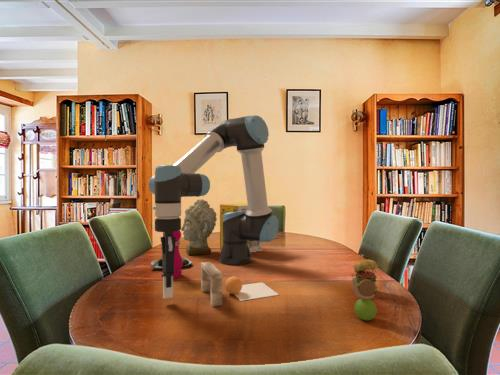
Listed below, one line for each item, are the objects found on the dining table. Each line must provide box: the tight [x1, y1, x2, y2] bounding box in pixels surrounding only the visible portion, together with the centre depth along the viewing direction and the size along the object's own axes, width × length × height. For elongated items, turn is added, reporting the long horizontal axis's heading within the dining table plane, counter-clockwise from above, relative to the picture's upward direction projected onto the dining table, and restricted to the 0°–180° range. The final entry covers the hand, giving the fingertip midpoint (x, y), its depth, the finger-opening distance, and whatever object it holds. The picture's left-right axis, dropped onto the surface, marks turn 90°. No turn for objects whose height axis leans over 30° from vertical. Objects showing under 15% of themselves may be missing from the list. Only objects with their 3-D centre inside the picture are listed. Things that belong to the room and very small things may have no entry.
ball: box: [224, 276, 243, 295], centre depth 95 cm, size 6×6×6 cm
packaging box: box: [219, 203, 263, 253], centre depth 159 cm, size 16×16×25 cm
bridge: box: [200, 261, 223, 307], centre depth 92 cm, size 3×14×9 cm, turn 22°
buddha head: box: [180, 199, 218, 256], centre depth 155 cm, size 17×19×28 cm
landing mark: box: [233, 281, 280, 302], centre depth 97 cm, size 13×13×1 cm
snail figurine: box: [351, 273, 378, 321], centre depth 76 cm, size 5×6×12 cm
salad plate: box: [150, 257, 193, 272], centre depth 131 cm, size 19×18×5 cm
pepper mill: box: [173, 230, 183, 279], centre depth 114 cm, size 7×7×20 cm
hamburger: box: [353, 253, 379, 294], centre depth 97 cm, size 8×7×12 cm
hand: (168, 296), depth 87 cm, fingers closed
